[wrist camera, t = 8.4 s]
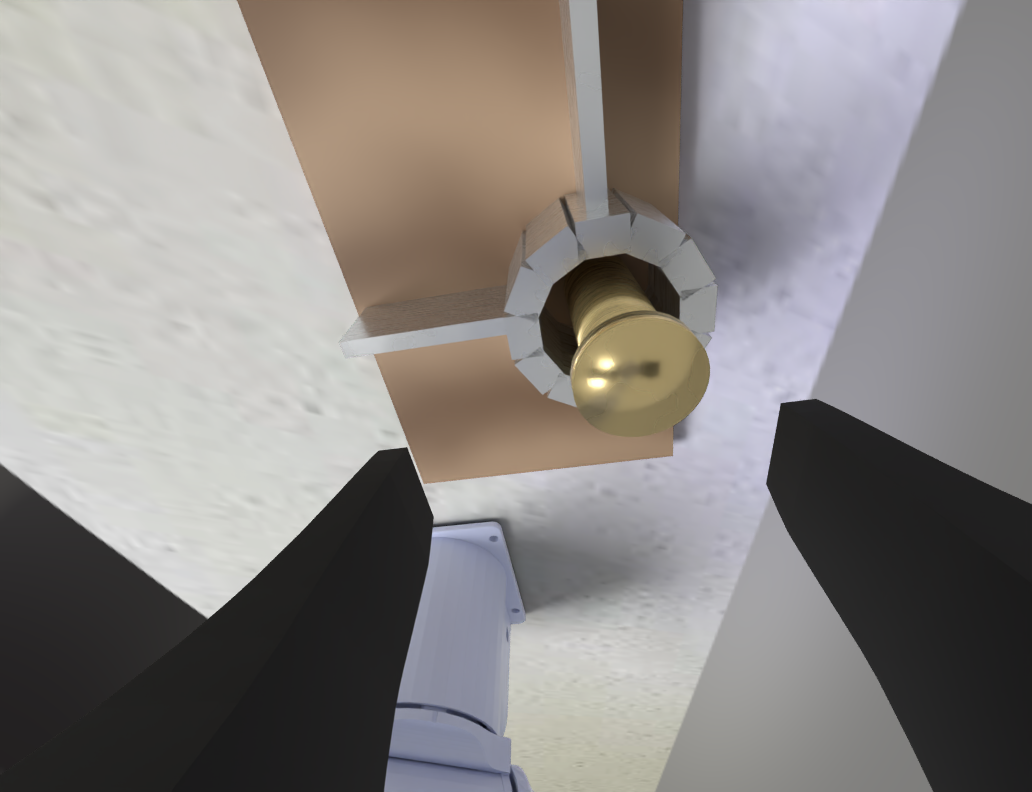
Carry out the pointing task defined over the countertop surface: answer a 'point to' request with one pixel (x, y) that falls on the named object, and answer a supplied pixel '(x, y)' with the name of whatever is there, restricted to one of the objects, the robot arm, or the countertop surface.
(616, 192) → the grey winged collar
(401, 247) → the walnut board
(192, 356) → the countertop surface
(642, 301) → the brass cabinet knob
